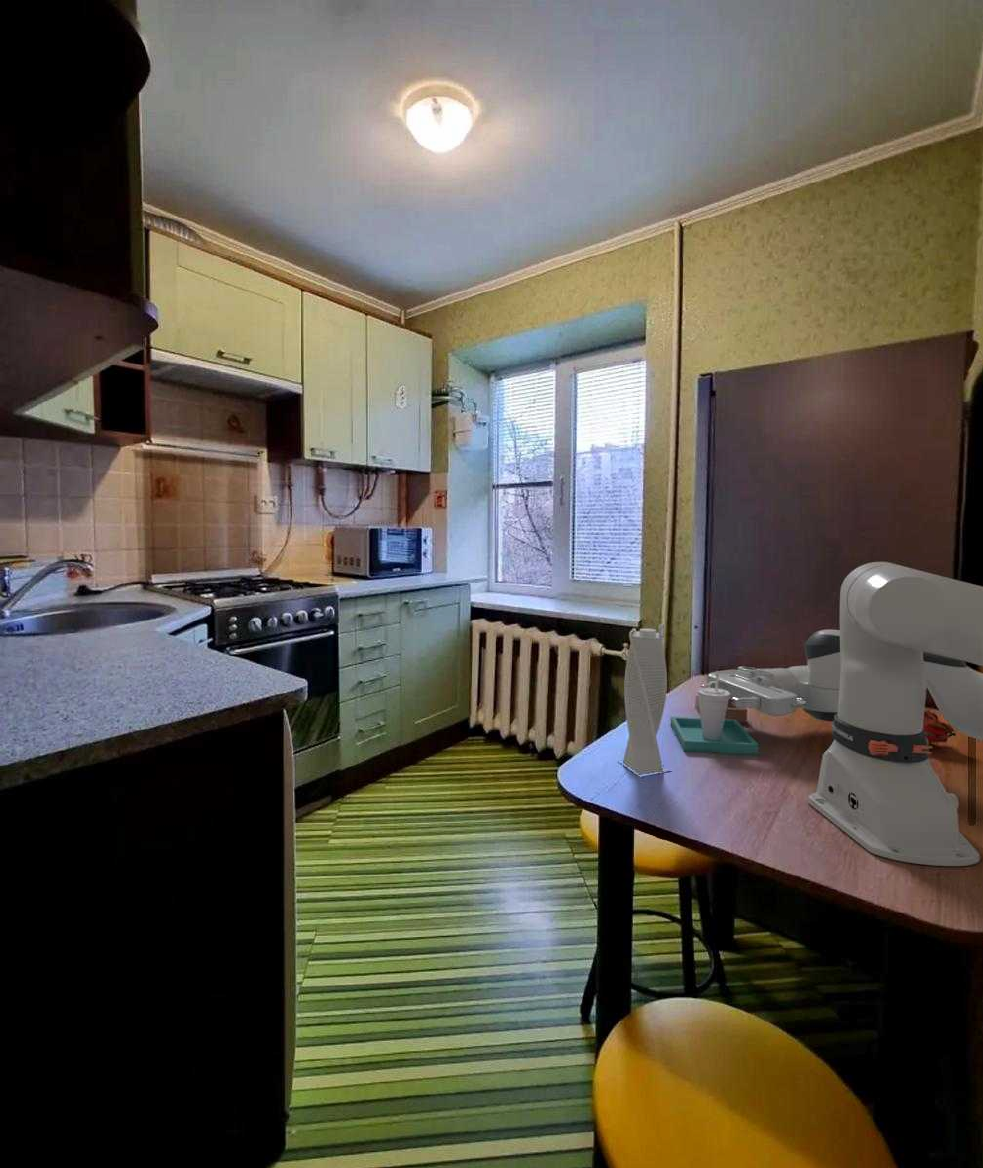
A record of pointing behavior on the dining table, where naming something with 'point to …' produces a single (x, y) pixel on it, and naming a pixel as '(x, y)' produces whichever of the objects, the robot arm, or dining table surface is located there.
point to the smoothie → (713, 710)
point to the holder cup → (729, 711)
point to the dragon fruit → (936, 728)
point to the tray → (730, 742)
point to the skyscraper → (644, 699)
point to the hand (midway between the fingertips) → (718, 696)
